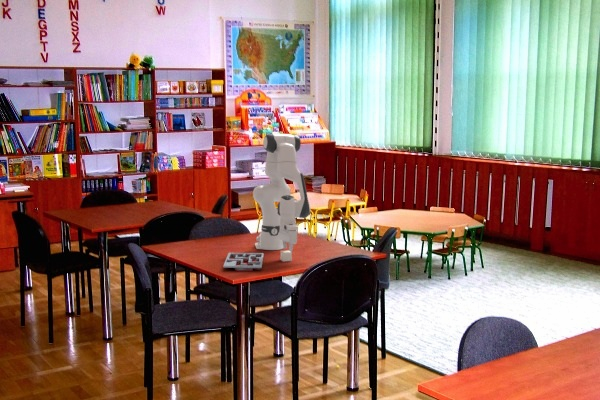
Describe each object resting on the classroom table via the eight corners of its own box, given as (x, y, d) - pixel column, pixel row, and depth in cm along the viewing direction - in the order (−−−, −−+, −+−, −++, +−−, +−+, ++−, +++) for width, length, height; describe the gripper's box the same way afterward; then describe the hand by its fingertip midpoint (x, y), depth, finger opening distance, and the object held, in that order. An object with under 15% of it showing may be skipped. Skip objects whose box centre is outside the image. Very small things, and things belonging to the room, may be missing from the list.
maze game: (228, 258, 406) (228, 252, 405) (263, 258, 406) (263, 253, 406) (223, 272, 371) (223, 266, 370) (261, 272, 371) (261, 266, 371)
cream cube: (280, 259, 402) (280, 250, 402) (289, 259, 404) (289, 250, 403) (283, 261, 398) (283, 252, 397) (291, 261, 399) (291, 252, 398)
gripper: (276, 223, 407) (276, 247, 408) (288, 227, 388) (288, 253, 389) (287, 222, 409) (287, 246, 410) (299, 227, 390) (299, 252, 391)
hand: (287, 249), depth 399 cm, fingers open, 8 cm apart
